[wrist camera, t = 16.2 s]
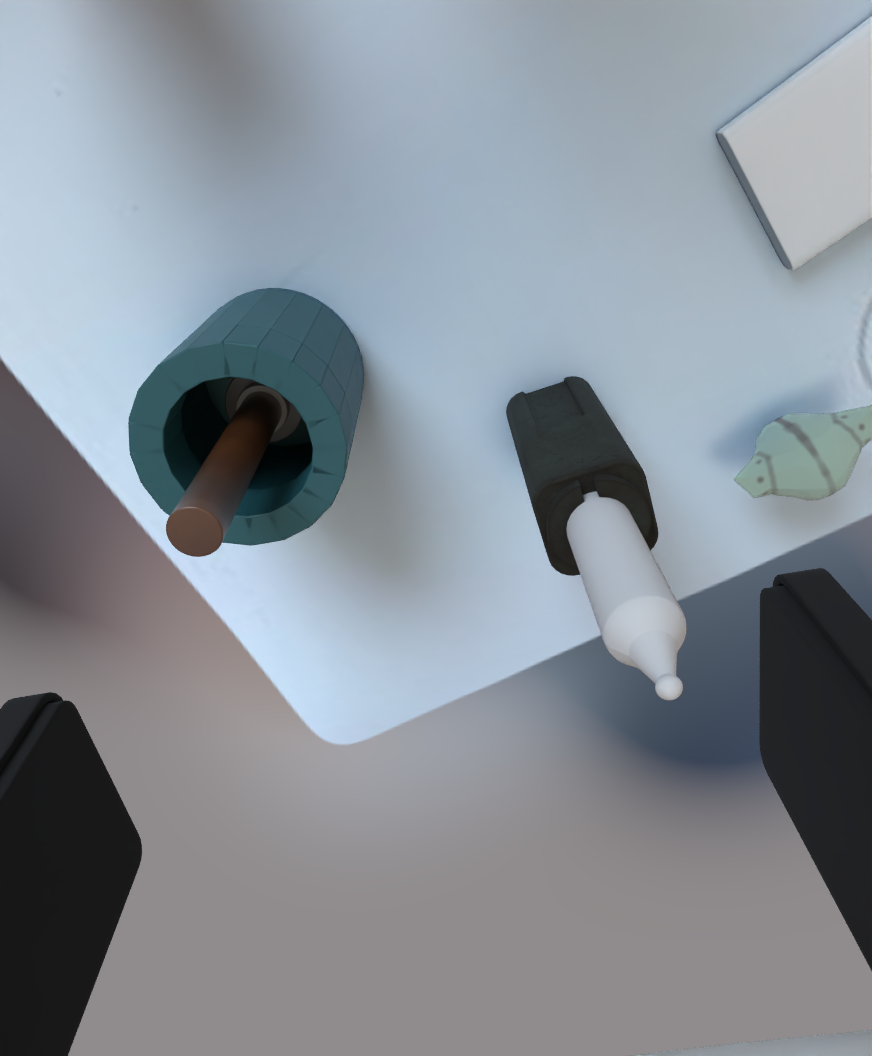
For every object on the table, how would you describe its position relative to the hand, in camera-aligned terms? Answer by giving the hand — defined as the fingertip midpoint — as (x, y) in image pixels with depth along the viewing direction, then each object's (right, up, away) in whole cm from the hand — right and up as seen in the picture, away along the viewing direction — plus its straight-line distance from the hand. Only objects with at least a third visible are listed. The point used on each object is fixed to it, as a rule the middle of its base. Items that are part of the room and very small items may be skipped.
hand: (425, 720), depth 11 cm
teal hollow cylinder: (-9, +11, +35) cm, 38 cm away
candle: (+7, +9, +37) cm, 38 cm away
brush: (-9, +11, +34) cm, 37 cm away
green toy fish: (+21, +8, +37) cm, 43 cm away
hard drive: (+22, +23, +30) cm, 43 cm away
